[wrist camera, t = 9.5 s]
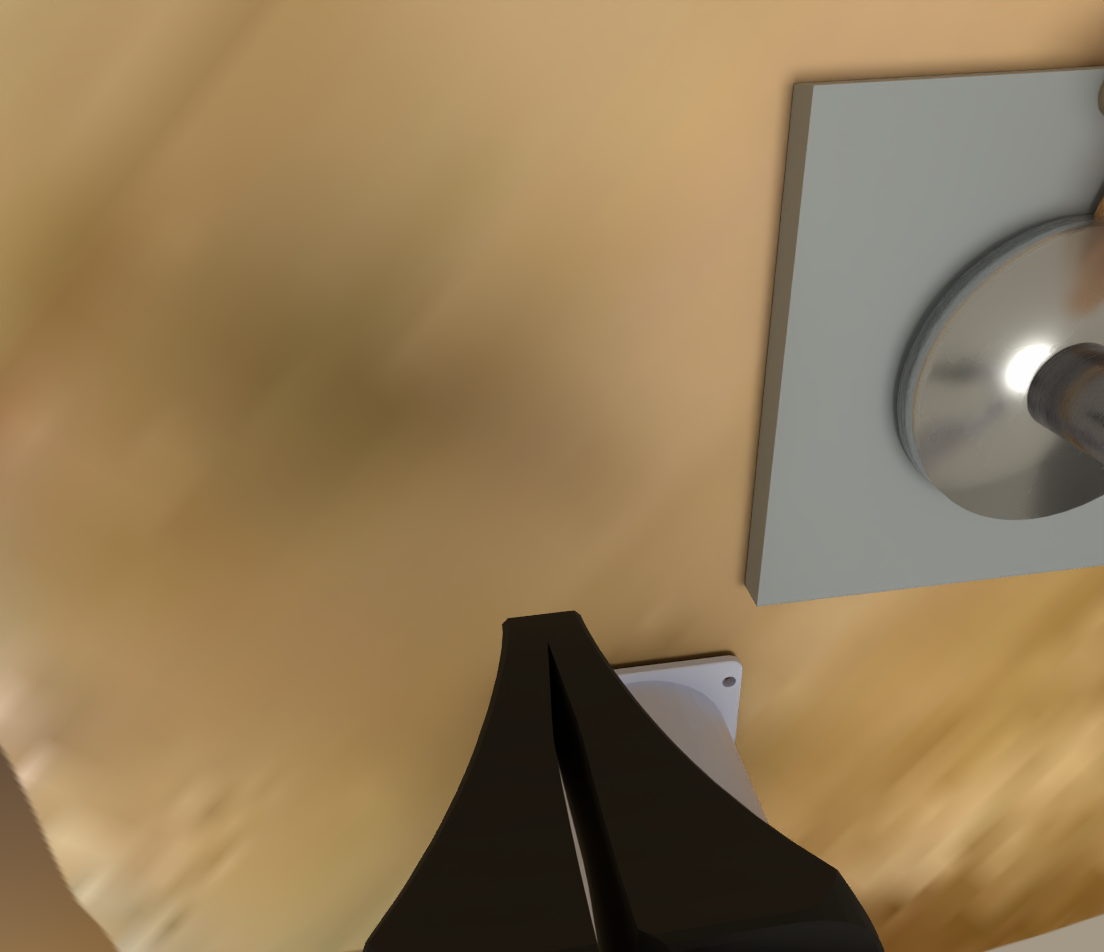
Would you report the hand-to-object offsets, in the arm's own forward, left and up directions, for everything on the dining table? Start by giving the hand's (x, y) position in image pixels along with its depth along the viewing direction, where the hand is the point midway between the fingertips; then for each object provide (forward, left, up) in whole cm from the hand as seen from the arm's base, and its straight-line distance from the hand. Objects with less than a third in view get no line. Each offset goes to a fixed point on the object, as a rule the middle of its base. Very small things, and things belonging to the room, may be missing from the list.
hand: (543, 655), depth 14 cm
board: (+1, -17, -10) cm, 20 cm away
